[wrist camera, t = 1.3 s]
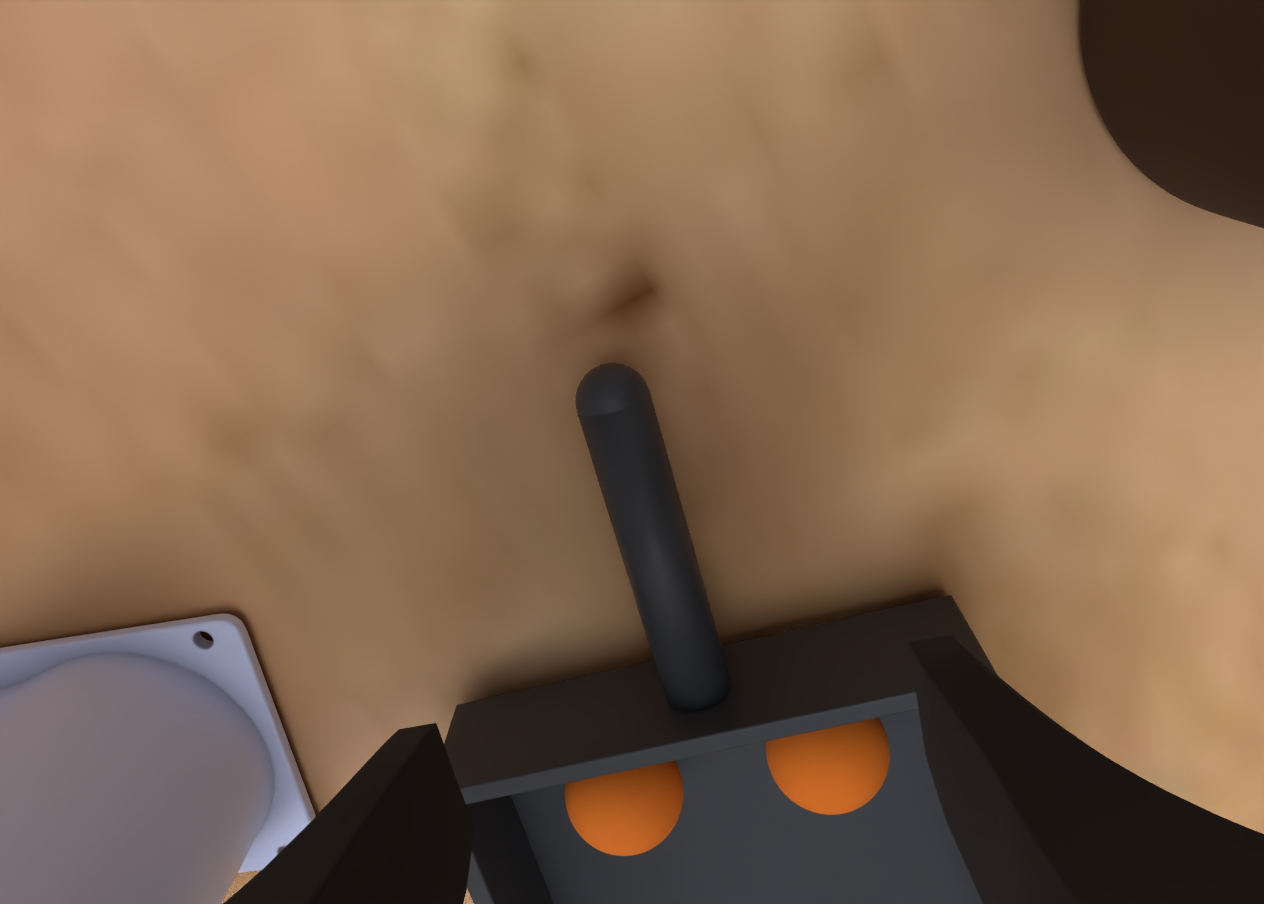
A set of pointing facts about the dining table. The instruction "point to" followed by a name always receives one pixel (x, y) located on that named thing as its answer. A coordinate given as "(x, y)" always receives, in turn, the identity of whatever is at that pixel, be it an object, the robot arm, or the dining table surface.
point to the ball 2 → (831, 766)
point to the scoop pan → (704, 730)
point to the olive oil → (1184, 95)
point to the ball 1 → (626, 808)
